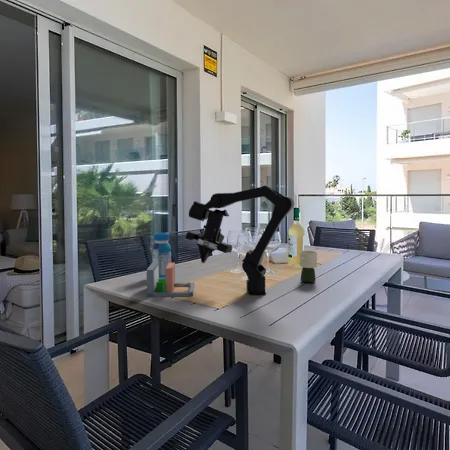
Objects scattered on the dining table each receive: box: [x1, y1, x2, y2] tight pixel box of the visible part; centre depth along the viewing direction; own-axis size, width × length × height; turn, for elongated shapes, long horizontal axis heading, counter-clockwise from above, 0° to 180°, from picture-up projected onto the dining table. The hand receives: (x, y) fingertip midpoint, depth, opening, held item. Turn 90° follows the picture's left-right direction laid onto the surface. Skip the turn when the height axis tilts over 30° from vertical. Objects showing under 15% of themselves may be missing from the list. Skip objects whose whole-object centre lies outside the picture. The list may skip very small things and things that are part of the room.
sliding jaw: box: [166, 262, 192, 292], centre depth 140 cm, size 9×11×10 cm
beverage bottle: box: [151, 232, 172, 279], centre depth 160 cm, size 8×8×20 cm
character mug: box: [299, 250, 318, 283], centre depth 153 cm, size 11×7×13 cm, turn 133°
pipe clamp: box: [156, 278, 166, 293], centre depth 139 cm, size 11×4×5 cm, turn 3°
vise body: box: [145, 261, 195, 297], centre depth 140 cm, size 17×15×10 cm
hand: (202, 262), depth 142 cm, fingers closed
